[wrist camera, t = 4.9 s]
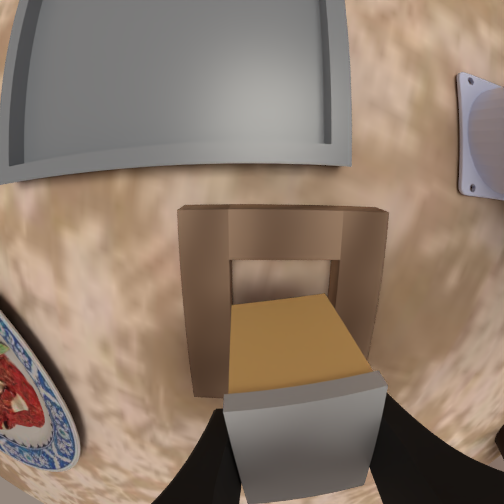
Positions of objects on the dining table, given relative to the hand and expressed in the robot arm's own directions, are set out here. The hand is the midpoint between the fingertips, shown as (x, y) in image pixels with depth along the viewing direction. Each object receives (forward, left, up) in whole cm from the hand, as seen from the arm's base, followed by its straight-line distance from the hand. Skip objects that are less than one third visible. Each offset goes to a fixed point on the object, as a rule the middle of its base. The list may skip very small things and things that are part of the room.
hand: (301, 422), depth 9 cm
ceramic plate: (+29, +10, -10) cm, 32 cm away
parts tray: (+7, -16, -9) cm, 20 cm away
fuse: (0, 0, -5) cm, 5 cm away
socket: (0, 0, -9) cm, 9 cm away
